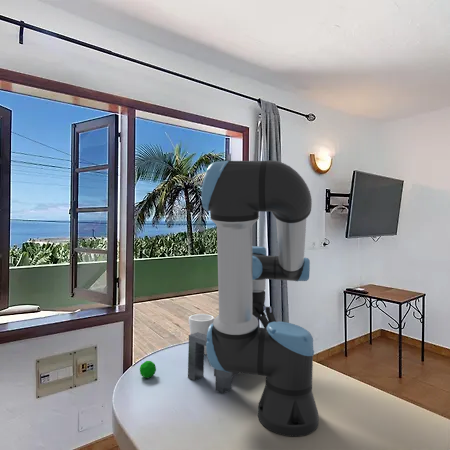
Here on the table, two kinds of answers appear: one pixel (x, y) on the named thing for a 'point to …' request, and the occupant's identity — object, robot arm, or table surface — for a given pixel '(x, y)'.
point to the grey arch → (197, 364)
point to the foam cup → (200, 324)
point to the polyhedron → (147, 369)
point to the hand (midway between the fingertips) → (253, 349)
